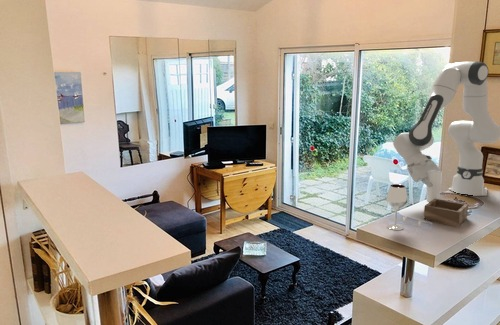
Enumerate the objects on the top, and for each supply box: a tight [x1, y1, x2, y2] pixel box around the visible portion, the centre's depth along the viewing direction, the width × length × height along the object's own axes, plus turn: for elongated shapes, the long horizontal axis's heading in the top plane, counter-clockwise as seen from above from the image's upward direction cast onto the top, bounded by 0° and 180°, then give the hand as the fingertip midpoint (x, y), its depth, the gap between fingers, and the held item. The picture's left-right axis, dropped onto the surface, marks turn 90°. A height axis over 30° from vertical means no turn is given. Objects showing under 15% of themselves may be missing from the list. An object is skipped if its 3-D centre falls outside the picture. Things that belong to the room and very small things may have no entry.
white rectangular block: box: [426, 170, 443, 203], centre depth 188 cm, size 7×7×15 cm
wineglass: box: [385, 183, 409, 231], centre depth 162 cm, size 8×8×18 cm
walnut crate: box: [422, 198, 469, 228], centre depth 173 cm, size 14×14×6 cm
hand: (435, 185), depth 188 cm, fingers closed on white rectangular block, 6 cm apart
